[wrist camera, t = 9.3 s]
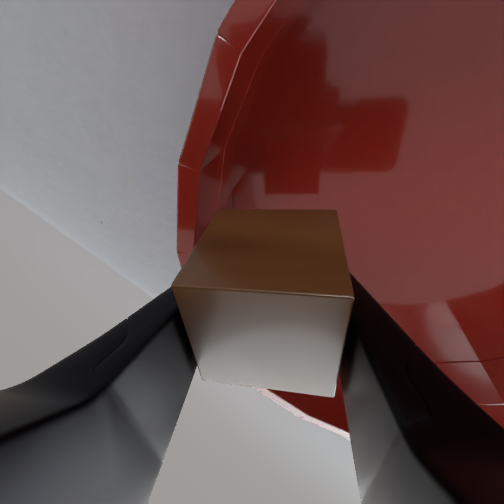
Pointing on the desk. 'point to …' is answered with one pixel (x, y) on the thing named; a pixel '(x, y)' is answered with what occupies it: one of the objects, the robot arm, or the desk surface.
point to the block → (268, 299)
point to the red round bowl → (369, 162)
